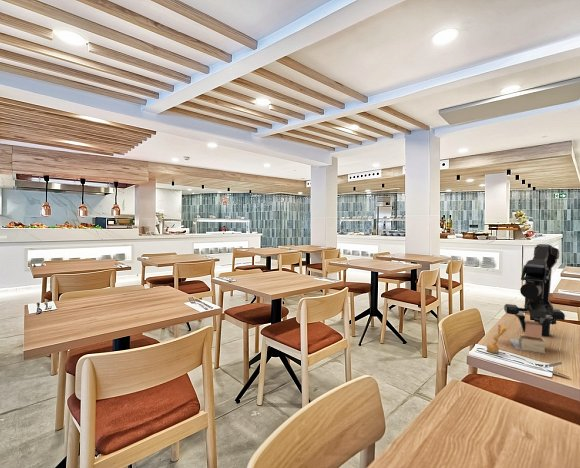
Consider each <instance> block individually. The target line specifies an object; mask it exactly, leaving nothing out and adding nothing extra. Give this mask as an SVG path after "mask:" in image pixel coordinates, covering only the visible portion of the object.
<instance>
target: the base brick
mask: <svg viewBox="0 0 580 468" xmlns="http://www.w3.org/2000/svg"><path fill="white" fill-rule="evenodd" d="M518 340H519V342H518V343H519V345H520V346H521V347H522V349H524V350H523V351H527V350H531V351H530V352H534V351H537V352H536V353H540V352H546V351H545V349H546V342H545V341H544V340H543V338H542V337H541V338H535V337H528V336H525V334H524V333H519V334H518Z"/></svg>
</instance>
